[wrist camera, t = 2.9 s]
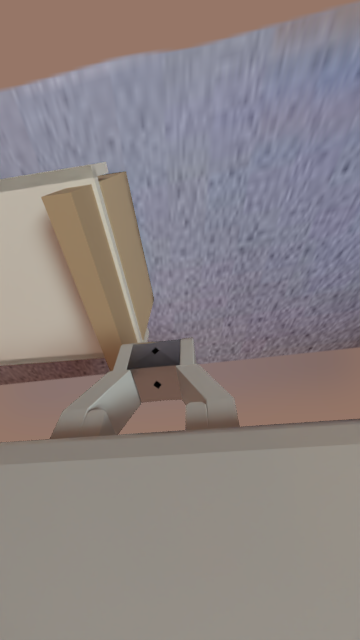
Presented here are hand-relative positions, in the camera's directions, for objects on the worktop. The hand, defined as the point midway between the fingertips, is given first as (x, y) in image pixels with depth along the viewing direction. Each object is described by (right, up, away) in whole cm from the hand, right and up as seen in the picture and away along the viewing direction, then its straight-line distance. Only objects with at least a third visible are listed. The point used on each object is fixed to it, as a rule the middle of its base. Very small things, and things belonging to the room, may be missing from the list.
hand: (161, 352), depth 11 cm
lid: (-12, +5, +10) cm, 17 cm away
